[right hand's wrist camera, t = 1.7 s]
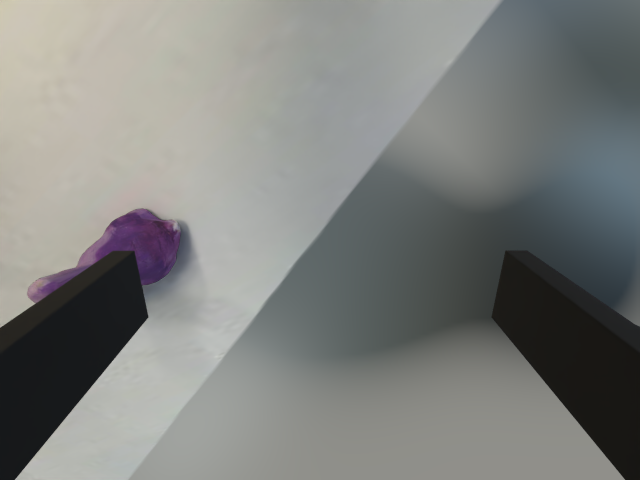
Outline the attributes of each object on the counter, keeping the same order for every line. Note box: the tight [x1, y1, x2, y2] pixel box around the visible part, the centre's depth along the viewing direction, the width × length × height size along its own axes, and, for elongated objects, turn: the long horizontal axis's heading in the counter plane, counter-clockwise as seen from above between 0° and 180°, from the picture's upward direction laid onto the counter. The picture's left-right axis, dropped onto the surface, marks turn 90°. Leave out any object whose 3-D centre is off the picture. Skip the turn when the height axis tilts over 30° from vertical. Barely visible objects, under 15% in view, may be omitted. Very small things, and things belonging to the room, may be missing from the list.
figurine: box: [27, 209, 181, 303], centre depth 35 cm, size 9×10×15 cm
